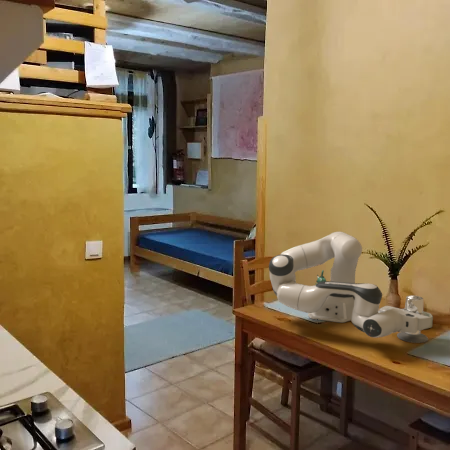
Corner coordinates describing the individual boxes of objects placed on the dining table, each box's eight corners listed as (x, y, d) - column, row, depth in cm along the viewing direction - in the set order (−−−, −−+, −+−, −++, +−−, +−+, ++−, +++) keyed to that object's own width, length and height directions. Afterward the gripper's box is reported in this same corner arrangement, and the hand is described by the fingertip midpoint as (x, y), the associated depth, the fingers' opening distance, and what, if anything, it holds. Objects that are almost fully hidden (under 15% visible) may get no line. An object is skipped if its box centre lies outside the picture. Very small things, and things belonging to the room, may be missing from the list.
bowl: (407, 328, 217) (408, 317, 216) (404, 320, 227) (404, 309, 227) (433, 330, 215) (434, 319, 214) (428, 322, 225) (429, 311, 224)
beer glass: (416, 337, 201) (419, 301, 199) (400, 332, 206) (402, 297, 204) (424, 333, 206) (426, 297, 204) (408, 328, 211) (410, 294, 209)
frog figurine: (342, 297, 264) (340, 270, 262) (309, 302, 263) (307, 275, 260) (336, 292, 274) (334, 266, 271) (304, 296, 272) (302, 270, 270)
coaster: (399, 341, 202) (399, 340, 202) (395, 331, 214) (395, 330, 214) (430, 343, 200) (430, 343, 200) (425, 333, 211) (425, 332, 211)
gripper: (372, 320, 205) (392, 314, 214) (418, 334, 190) (437, 327, 198) (373, 305, 205) (392, 299, 213) (419, 318, 189) (438, 311, 197)
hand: (414, 312), depth 205 cm, fingers closed on beer glass, 6 cm apart
